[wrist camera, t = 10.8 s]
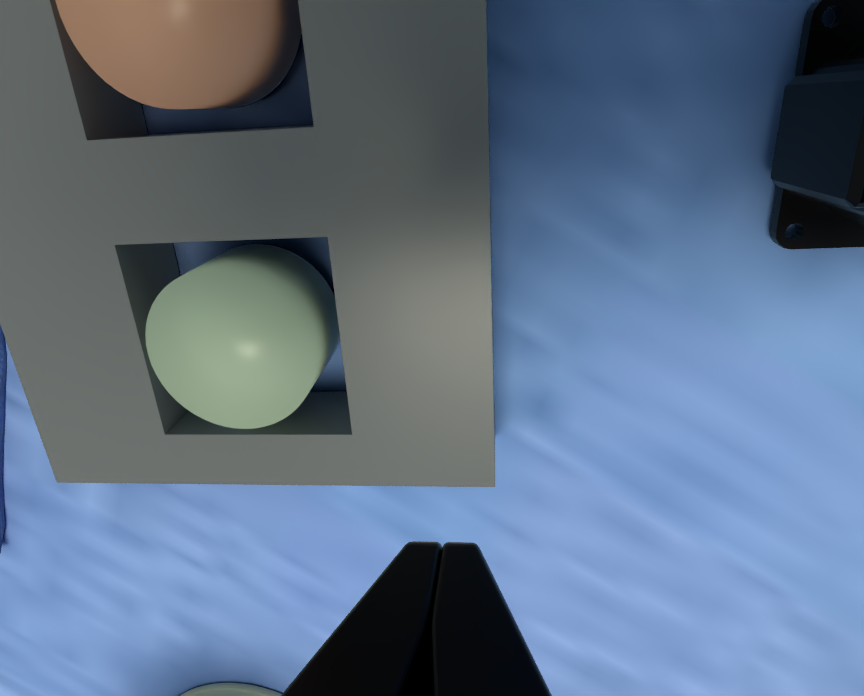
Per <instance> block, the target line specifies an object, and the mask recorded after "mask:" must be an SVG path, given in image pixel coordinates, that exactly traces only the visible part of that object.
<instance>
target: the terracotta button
mask: <svg viewBox="0 0 864 696" xmlns="http://www.w3.org/2000/svg"><path fill="white" fill-rule="evenodd" d="M55 1H56V4H57V8H58V11H59V14H60V17H61V19H62V22H63V24H64V26H65V29H66V31H67V33H68V35H69V36H70V38H71V40H72V42H73V44H74V45H75V47H76V48H77V50H78V51H79V53H80V54H81V56H82V57H83V59H84V60H85V61H86V62H87V63H88V65H89V66H90V67H91V68H92V69H93V70H94V71H95V72H96V73H97V74H98V75H99V76H100V77H101V78H102V79H103V80H104V81H105V82H106V83H108V84H109V85H110V86H112V87H113V88H114V89H116V90H117V91H119V92H120V93H122V94H124V95H125V96H127V97H129V98H131V99H133V100H135V101H138V102H140V103H142V104H146V105H149V106H152V107H157V108H163V109H219V108H236V107H242V106H245V105H249V104H252V103H254V102H256V101H258V100H260V99H262V98H263V97H265V96H266V95H268V94H269V93H270V92H271V91H273V90H274V89H275V88H276V87H277V86H278V85H279V84H280V82H281V81H282V80H283V79H284V77H285V76H286V74H287V73H288V71H289V69H290V68H291V66H292V63H293V61H294V59H295V56H296V54H297V50H298V47H299V43H300V37H301V31H302V29H301V21H300V13H299V5H298V0H55Z"/></svg>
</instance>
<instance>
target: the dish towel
mask: <svg viewBox="0 0 864 696" xmlns="http://www.w3.org/2000/svg"><path fill="white" fill-rule="evenodd" d="M6 375H7V351H6V343H5V336H4V333H3V330H2V328H1V325H0V553H1V546H2V540H3V534H4V529H5V514H4V491H3V454H4V433H5V397H6Z"/></svg>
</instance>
